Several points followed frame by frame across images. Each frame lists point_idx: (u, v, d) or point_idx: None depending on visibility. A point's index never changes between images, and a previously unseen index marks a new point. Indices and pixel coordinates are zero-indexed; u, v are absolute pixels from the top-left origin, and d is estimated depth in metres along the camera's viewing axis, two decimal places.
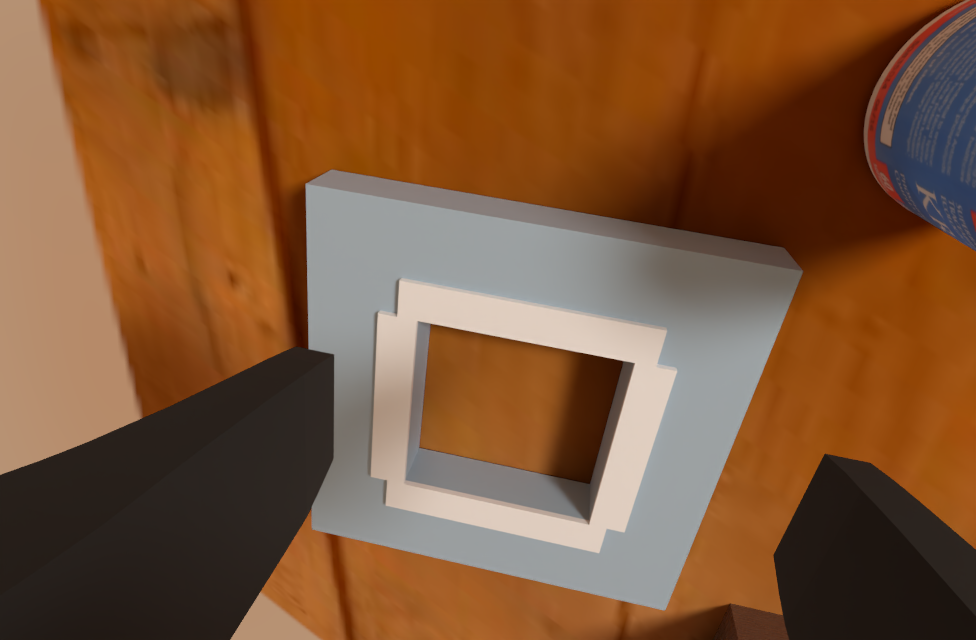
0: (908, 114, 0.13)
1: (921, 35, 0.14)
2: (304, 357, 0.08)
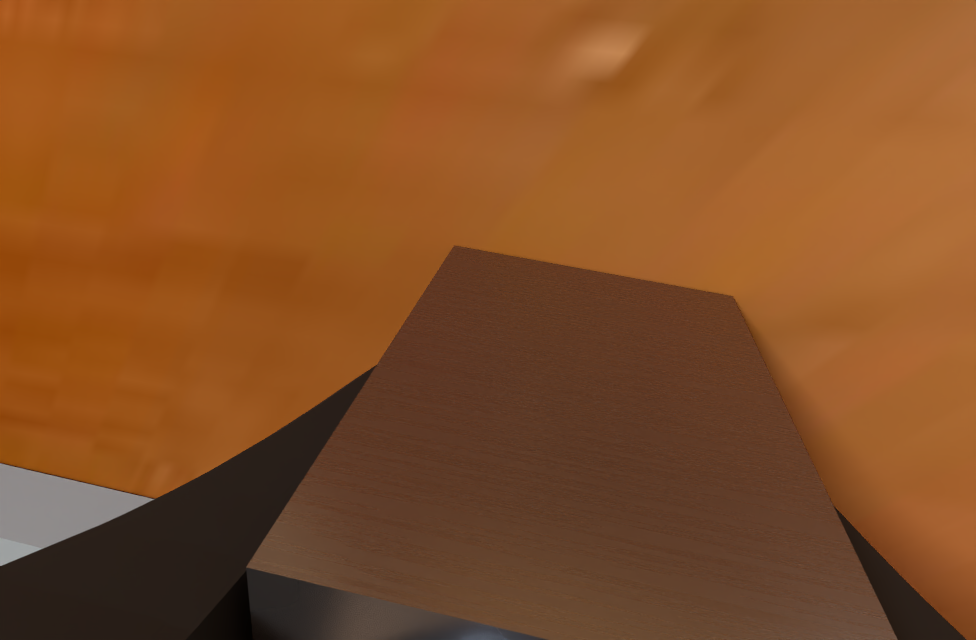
0: None
1: None
2: None
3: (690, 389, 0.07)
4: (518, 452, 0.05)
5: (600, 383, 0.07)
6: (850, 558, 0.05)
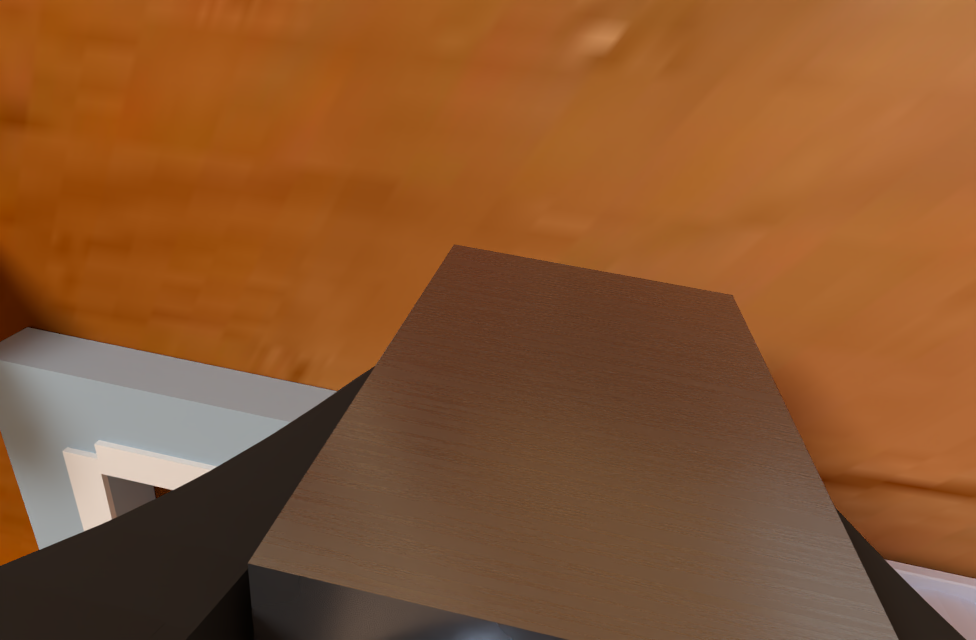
0: None
1: None
2: None
3: (690, 386, 0.07)
4: (519, 449, 0.05)
5: (600, 381, 0.07)
6: (850, 555, 0.05)
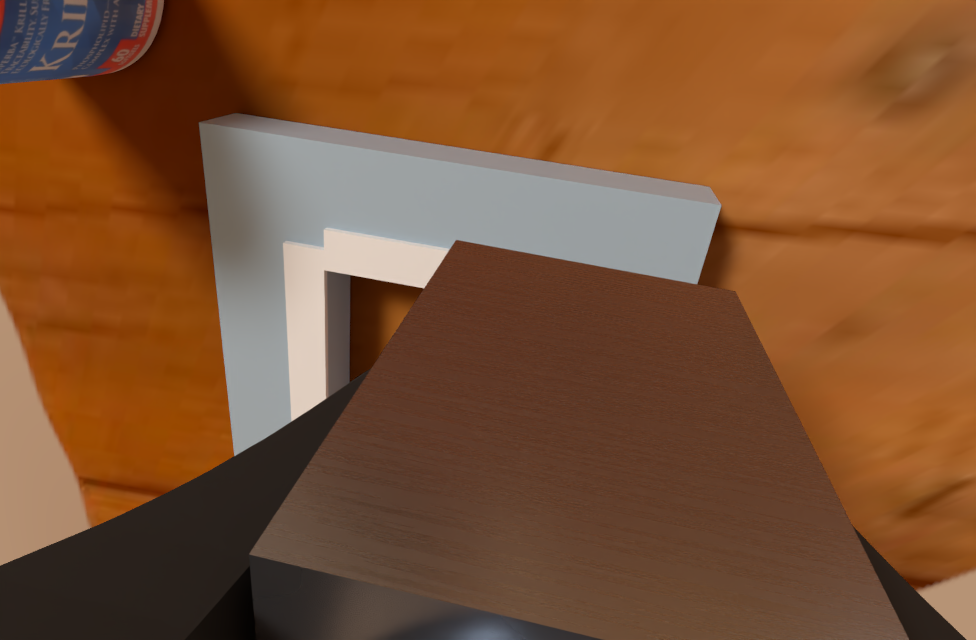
0: None
1: None
2: None
3: (694, 381, 0.07)
4: (523, 441, 0.05)
5: (603, 375, 0.07)
6: (857, 549, 0.05)
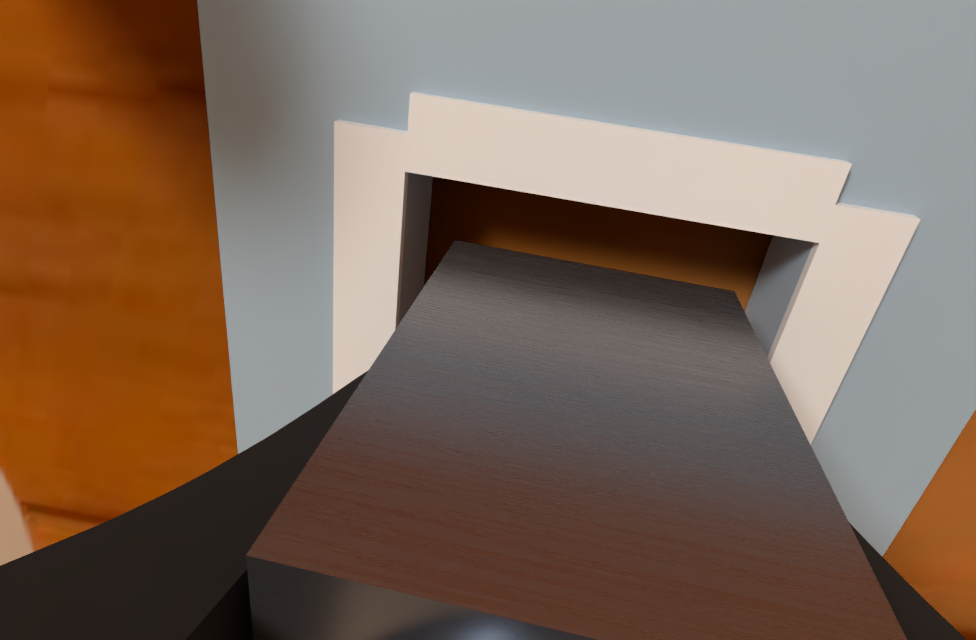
0: None
1: None
2: None
3: (693, 381, 0.07)
4: (520, 442, 0.05)
5: (602, 376, 0.07)
6: (854, 548, 0.05)
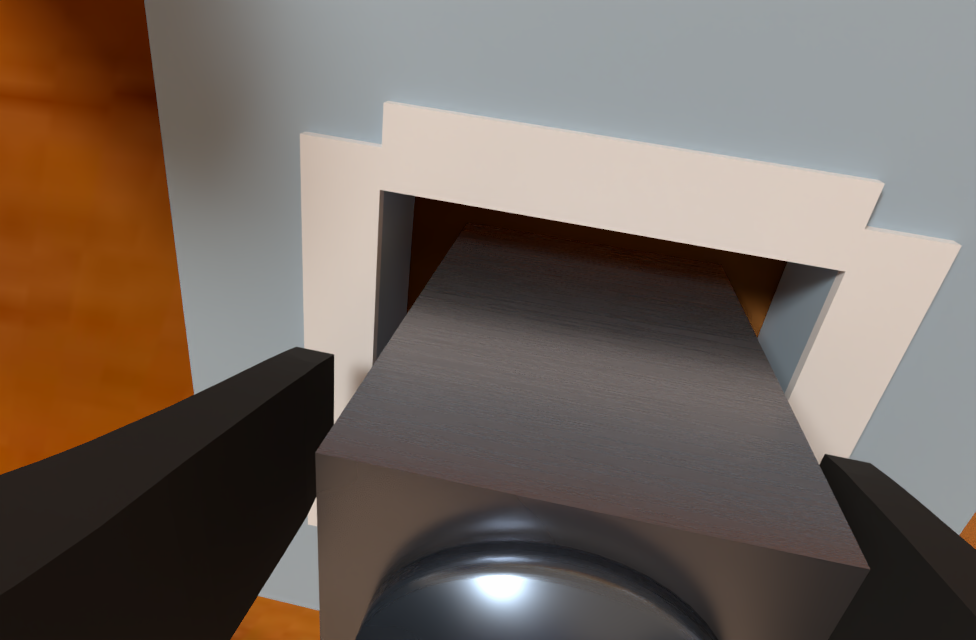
0: None
1: None
2: (304, 357, 0.08)
3: (679, 335, 0.08)
4: (530, 379, 0.06)
5: (600, 330, 0.08)
6: (809, 457, 0.06)
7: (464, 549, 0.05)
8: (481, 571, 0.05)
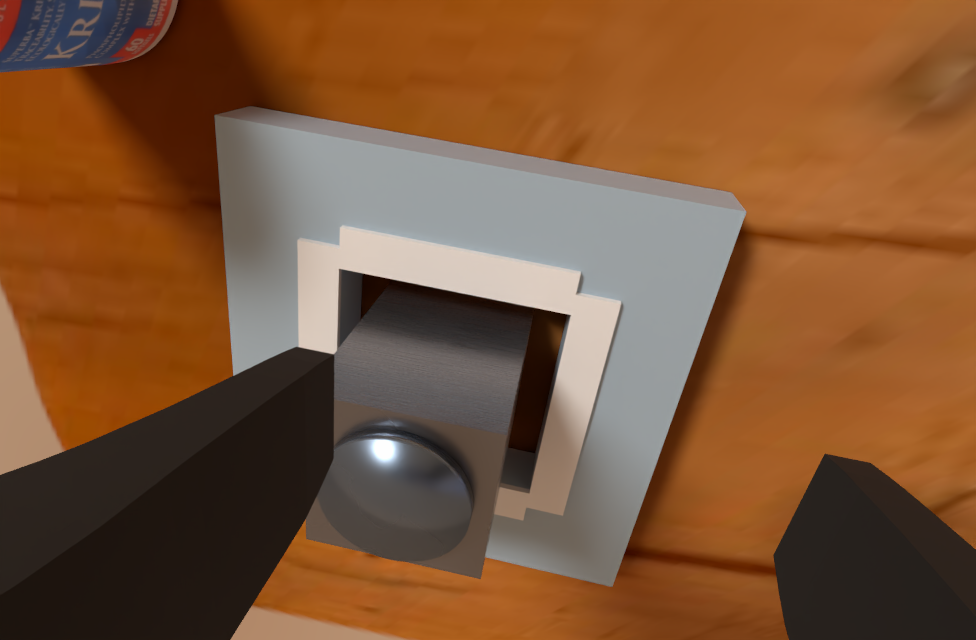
0: None
1: None
2: (304, 357, 0.08)
3: (484, 346, 0.16)
4: (400, 366, 0.14)
5: (444, 343, 0.15)
6: (511, 399, 0.14)
7: (362, 432, 0.13)
8: (366, 438, 0.13)
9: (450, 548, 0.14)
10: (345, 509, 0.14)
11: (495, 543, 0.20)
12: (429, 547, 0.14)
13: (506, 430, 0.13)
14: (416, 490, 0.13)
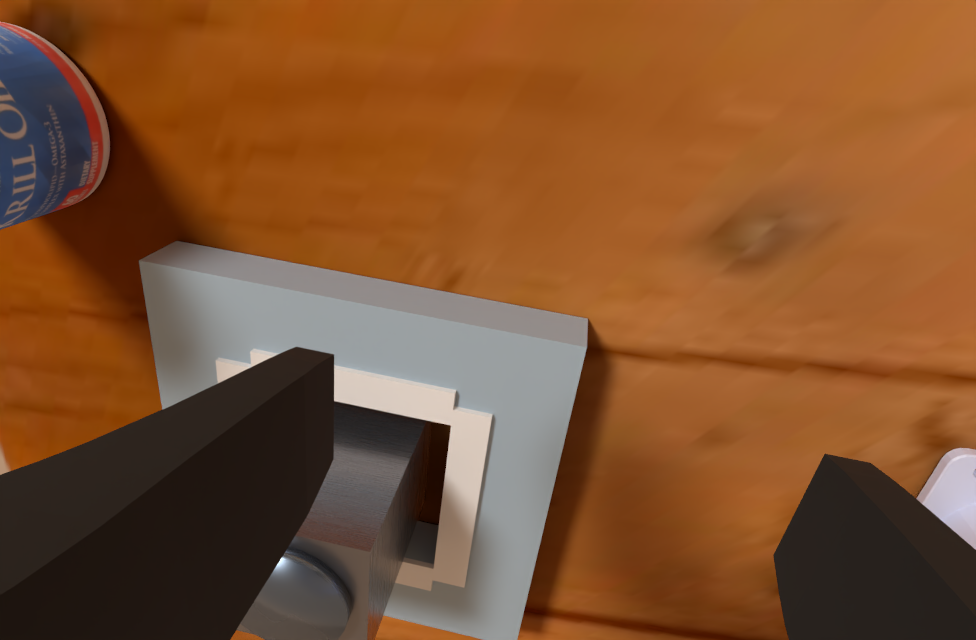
0: None
1: None
2: (304, 357, 0.08)
3: (375, 455, 0.18)
4: None
5: (339, 454, 0.18)
6: (384, 513, 0.16)
7: None
8: None
9: None
10: None
11: (410, 608, 0.23)
12: (317, 638, 0.16)
13: (371, 546, 0.15)
14: (299, 594, 0.16)
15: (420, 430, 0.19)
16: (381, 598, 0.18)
